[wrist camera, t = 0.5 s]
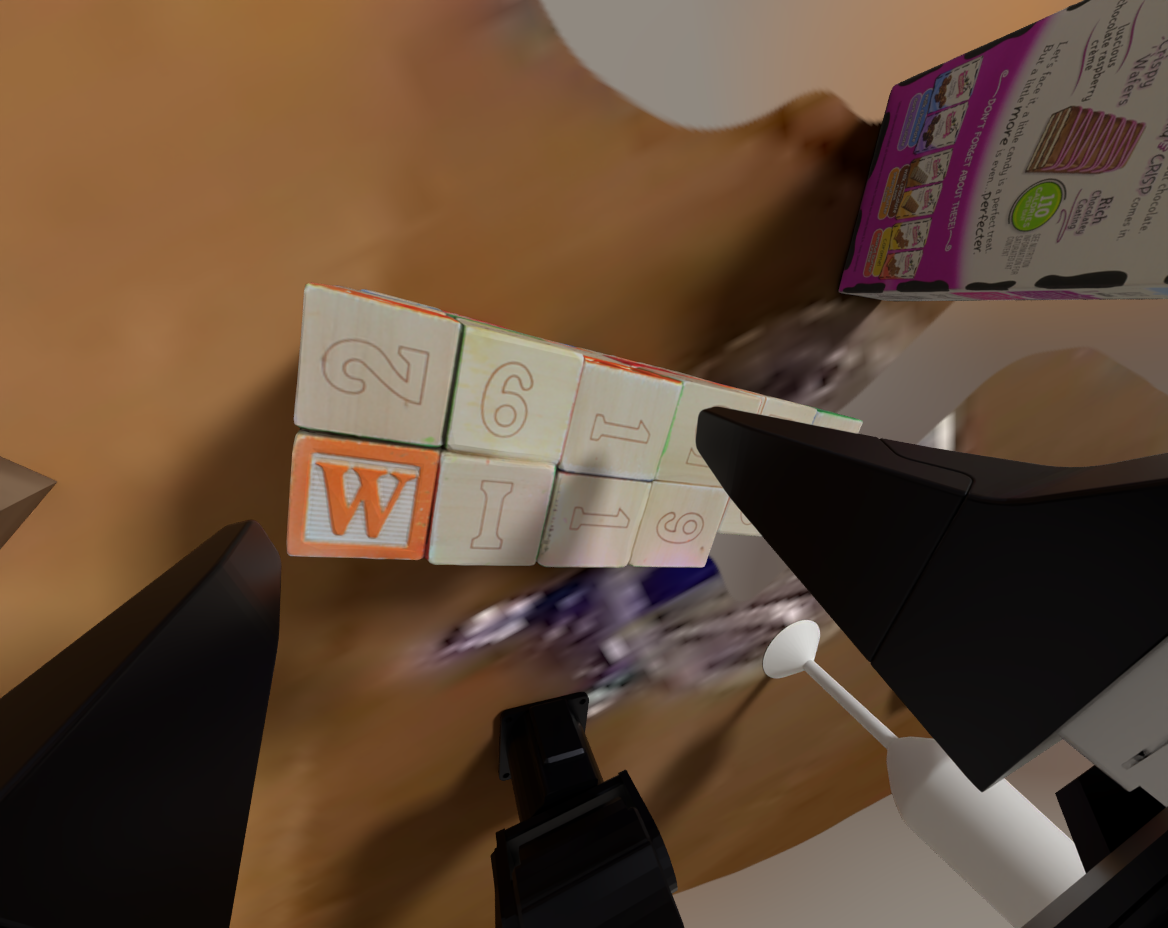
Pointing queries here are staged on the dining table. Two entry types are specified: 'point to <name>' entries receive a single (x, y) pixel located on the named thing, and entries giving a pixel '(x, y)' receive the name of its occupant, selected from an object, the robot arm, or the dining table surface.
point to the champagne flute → (953, 803)
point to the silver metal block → (19, 495)
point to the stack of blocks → (499, 444)
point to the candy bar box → (1026, 168)
